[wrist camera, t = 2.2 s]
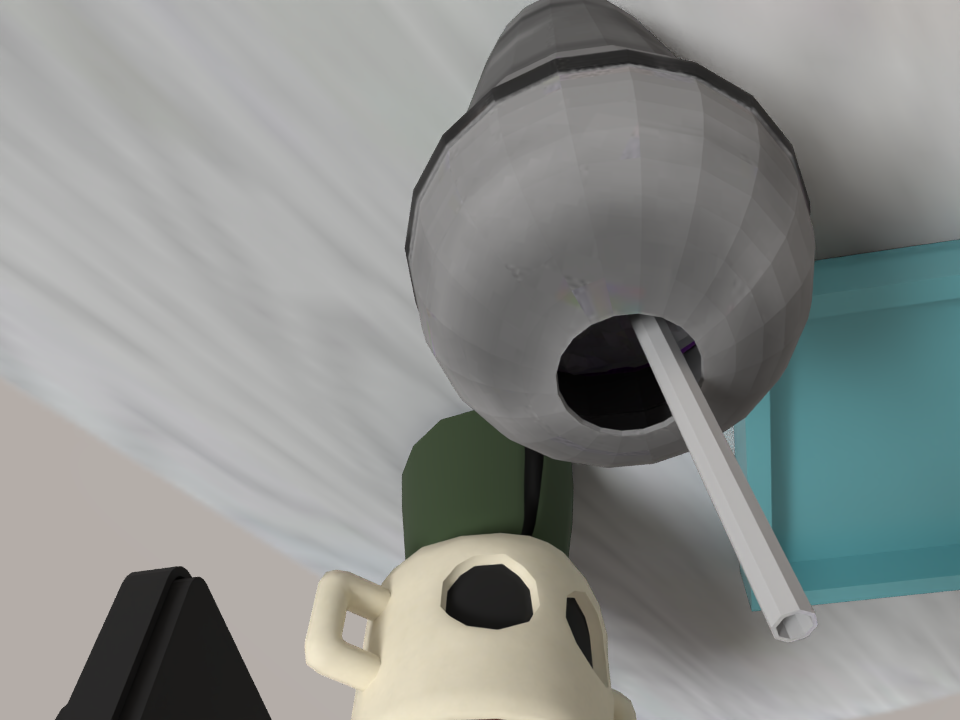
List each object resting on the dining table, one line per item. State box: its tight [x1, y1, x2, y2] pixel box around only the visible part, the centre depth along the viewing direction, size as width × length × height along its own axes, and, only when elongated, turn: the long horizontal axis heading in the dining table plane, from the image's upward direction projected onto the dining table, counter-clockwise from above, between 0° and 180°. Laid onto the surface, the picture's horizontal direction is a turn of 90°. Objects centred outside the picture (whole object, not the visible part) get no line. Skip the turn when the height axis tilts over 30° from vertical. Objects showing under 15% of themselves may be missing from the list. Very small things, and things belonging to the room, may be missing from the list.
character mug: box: [305, 410, 636, 720], centre depth 29 cm, size 11×7×13 cm, turn 58°
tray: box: [734, 239, 960, 611], centre depth 32 cm, size 14×14×2 cm
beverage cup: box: [405, 0, 818, 643], centre depth 18 cm, size 7×7×20 cm
